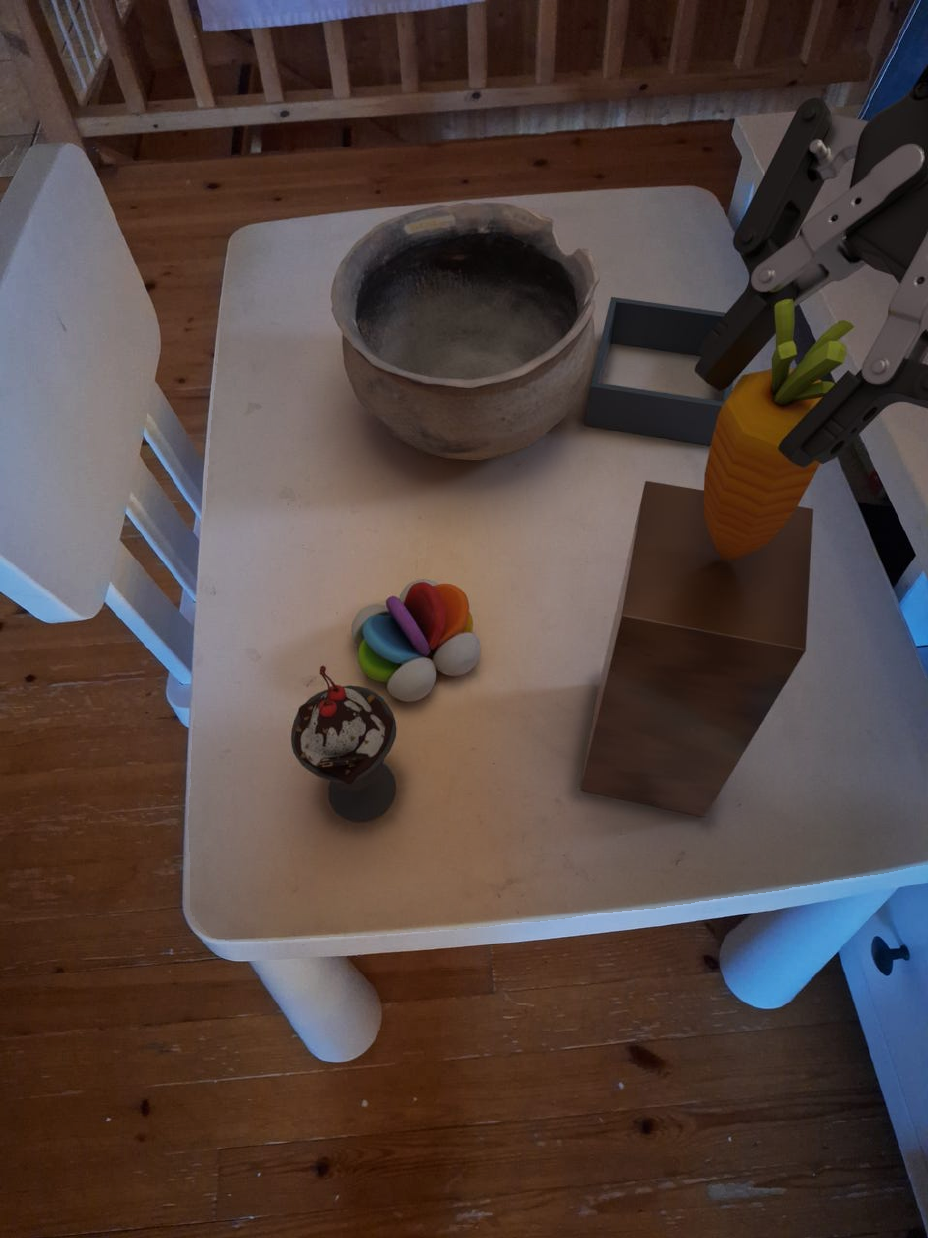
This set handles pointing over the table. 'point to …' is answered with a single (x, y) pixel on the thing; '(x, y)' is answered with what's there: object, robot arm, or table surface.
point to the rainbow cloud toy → (416, 638)
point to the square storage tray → (646, 407)
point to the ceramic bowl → (466, 327)
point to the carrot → (765, 441)
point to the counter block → (694, 654)
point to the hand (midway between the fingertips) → (749, 417)
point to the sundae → (348, 748)
